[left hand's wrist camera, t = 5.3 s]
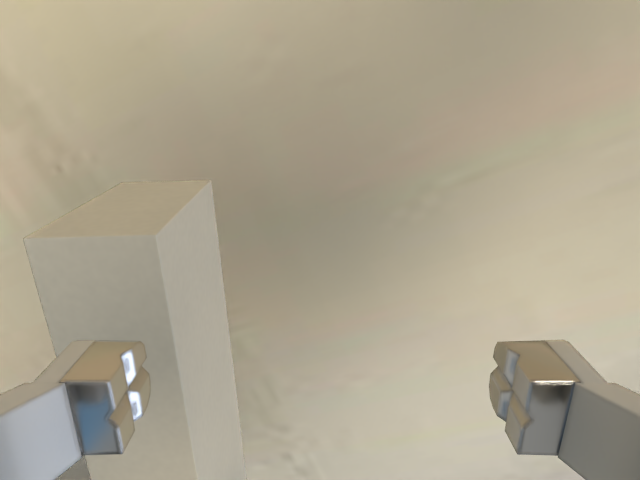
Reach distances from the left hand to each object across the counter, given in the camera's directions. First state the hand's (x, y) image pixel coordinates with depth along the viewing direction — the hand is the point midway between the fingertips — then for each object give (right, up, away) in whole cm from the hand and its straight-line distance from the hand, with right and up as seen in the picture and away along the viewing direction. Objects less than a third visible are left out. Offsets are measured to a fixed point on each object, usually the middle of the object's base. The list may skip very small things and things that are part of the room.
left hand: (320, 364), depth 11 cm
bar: (-8, -5, +18) cm, 20 cm away
